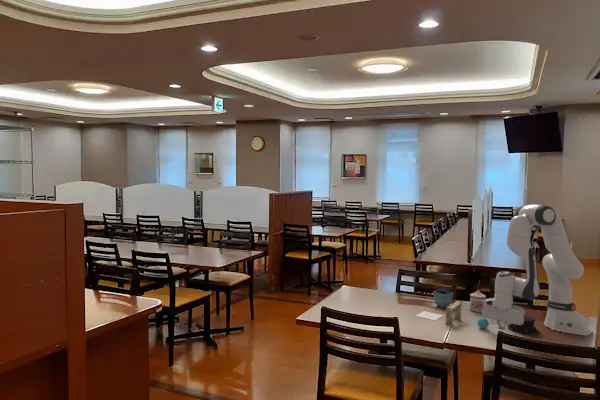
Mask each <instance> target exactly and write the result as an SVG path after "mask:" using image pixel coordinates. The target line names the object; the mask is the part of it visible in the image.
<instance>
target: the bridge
mask: <svg viewBox="0 0 600 400" xmlns="http://www.w3.org/2000/svg"><path fill="white" fill-rule="evenodd" d="M445 311H446V312H445V325H448V326H452V325H453V320H459V321H460V320H461V317H462V302H457V301H456V302H454V303H451V304H450V305H449V306H448V307H445Z"/></svg>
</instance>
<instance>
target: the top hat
mask: <svg viewBox="0 0 600 400" xmlns="http://www.w3.org/2000/svg"><path fill="white" fill-rule="evenodd" d="M535 322H536V318H535V317H533V316H529V315H525V314H524V323H523V324H522V325H516V324H512V323H508V324H507V328H508V330H510V331H511V332H513V333H516V334H520V335H533V334H537V333H539V332H540V330H539V329H538V328H537V326H536V325H535Z"/></svg>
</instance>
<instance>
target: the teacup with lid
mask: <svg viewBox="0 0 600 400" xmlns="http://www.w3.org/2000/svg"><path fill="white" fill-rule="evenodd" d="M469 297H470V299H469V310H470V311H472V312H476V313H482V308H483V306H484V305H485V304H484V301H485V300H486V299H487V296H486V295H485V294H483V293H482V292H481V290H476V291H475V292H473V293H470V294H469Z"/></svg>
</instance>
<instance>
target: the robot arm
mask: <svg viewBox="0 0 600 400" xmlns="http://www.w3.org/2000/svg"><path fill="white" fill-rule="evenodd" d="M534 226H540V231H541V235H542V238H543V242H544V245H545V248H546V250H547V251H548V252H549V253H547V254H546V255H544V256H543V258H542V262H541V264H542V266H543V268H544V270H545V272H546V276H547V280H548V299H547V301H546V309H547V310H546V316H545V319H544V322H543V325H544V326H545V327H547V328H549V329H551V330H552V331H554V330H556V331H555V332H560V331H561V333H565V334H566V333H567V334H573V335H581V336H585V337H586V336H590V335H591V334H592V333H593V330H592V328H590V327H589V326H588V322H587V319H586V318H585V317H584V316H583V315H582V314H581V313H580V312H578V311H577V309H576V308H577V304H576V303H573V289H574V288H573V287H572V285H571V283H570V281H569V279H570V280H577V279H579V278H581V277H582V276H583V274H584V273H585V268H584V264H583V263H582V262H580V260H579V259H578V258H577V256H576V254H575V253H574V251H573V249H572V248H571V246H570V242H569V240H568V237H567V232H566V228H565V226H564V222H563V221H562V218H561V215H560V214H559V213H558V212H557V211H555V210H554V208H553V207H551V206H549V205H546V204H538V203H537V204H536V203H534V204H522V205H520V206H518V207H517V208H516V210H515V214H514V216H513V217H512V218H511V219H510V222H509V226H508V228H507V234H506V246H507V247H508V249H509V250H510V251H511V252H512V253H513V254H515V255H516V256H519V257H520V258H522V259H523V261H524V263H525V269H526V278H522V277H518V276H515V275H514V273H513V272H512V271H511V272H510V271H508V270H507V271H505V270H502V271H498V272H497V273H496V276H495V282H494V290H495V292H494V297H489V298H486V300H485V301H484V304H485V305H484V306H483V308H482V312H481V317H482V318H485V319H490V320H495V321H496V325H498V330H502V331H505V330H506V326H508V325H509V324H511V323H512V324H516V325H522V324H523V323H524V315H525V312H526V311H525V309H524V308H523V307H522V306H519V305H515V304H514V303H513V302H514V297H513V296H515V297H519V298H522V299H525V300H529V301H532V300H534V299H536V298H538V296H539V295H540V290H541V289H540V284H539V275H538V274H539V273H538V262H537V261H538V260H537V253H536V251H535V249H534V248H533V247H532V244H531V234H532V231H531V230H532V229H533V227H534ZM501 322H503V324H504V325H501Z"/></svg>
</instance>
